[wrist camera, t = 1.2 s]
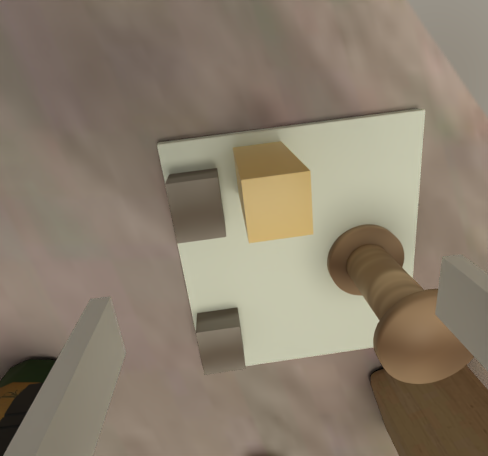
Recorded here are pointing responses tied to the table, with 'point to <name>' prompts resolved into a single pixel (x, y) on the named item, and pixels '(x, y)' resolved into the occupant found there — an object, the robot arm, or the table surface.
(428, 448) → the wooden block
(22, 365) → the bottle
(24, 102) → the table surface
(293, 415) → the table surface
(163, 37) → the table surface
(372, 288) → the bobbin
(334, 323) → the board
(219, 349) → the notch board
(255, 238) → the yellow rectangular block
